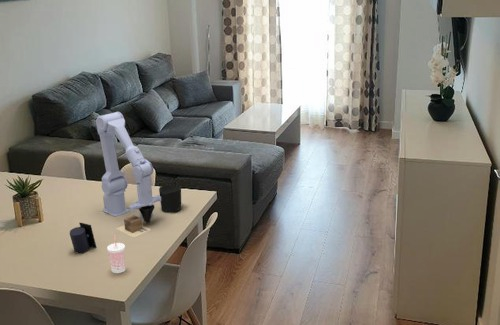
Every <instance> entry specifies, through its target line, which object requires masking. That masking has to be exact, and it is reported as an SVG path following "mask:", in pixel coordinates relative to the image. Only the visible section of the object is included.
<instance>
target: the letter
mask: <svg viewBox="0 0 500 325" xmlns="http://www.w3.org/2000/svg"><path fill="white" fill-rule="evenodd" d="M142 228H143V229H141V230H138V231H136V232H134V233H131V232H129V231H127V230H125V225H124V224H123V225H121V226H119V227H116V228H115V229H116V230H117V231H120V232H121V233H123V234H125V235H128V236H129V237H132V238H135V237H138V236H140V235H143V234H145V233H147V232H150V231H152V229H151V228H149V227H147V226H145V225H143V224H142Z"/></svg>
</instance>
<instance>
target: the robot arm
mask: <svg viewBox="0 0 500 325" xmlns="http://www.w3.org/2000/svg"><path fill="white" fill-rule="evenodd" d="M95 124H96V130H97V135H99V139H100V144H101V150H102V155H103V161H104V166H105V173H104V174H103V175H102V177H101V189H102V192H103V195H102V198H103V210H102V212H104V213H106V214H109V215H110V216H112V217H118V216H120V215H123V214H127V213H128V212H135V211H136V210H138V211H139V213H140V212H141V214H142V216H143V219H142V220H143V222H144V223H147V224H149V223H150V222H151V218H152V217H151V214H152V215H153V211H154V209H155V203H158V202H160V201H161V196H160V195H155V196H153V192H152V191H153V190H152V189H153V188H152V174H154V167H153V165H152V163H151V162H150V161H149V160H148V159H147V158H145V157H144V155H143V153H142V152H141V150H140V148H139V147H138V146H136V145H134V143H133V141H132V139H131V137H130V135H129V133H128V131H127V129H126V127H125V126H126V120H125V118H124V115H123V114H122V113H121V112H120V111H115V112H111V113H107V114H103V115H98V116H97V118H96V120H95ZM114 135H115V136H116V138H117V139H118V140H119V142H120V144H121V145H122V146H123V147H124V149H125V152H124V153H125V154H124V155H125V156H126V158H127V160H128V161H129V163H130V164H131V167H132V170H131V171H132V174H133V176H134V181H135V182H136V190H137V191H136V192H137V201H136V202H135V203H133V204H131V205H129V208H127V207H126V198H125V192H126V189H128V186H129V185H128V184H129V183H128V180H127V177H126V175H125V173H124V172H123V171H122V170H120V168H119V163H118V158H117V152H116V147H115V141H114Z"/></svg>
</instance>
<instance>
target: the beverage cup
mask: <svg viewBox="0 0 500 325" xmlns="http://www.w3.org/2000/svg"><path fill="white" fill-rule="evenodd" d="M113 236H114V237H113V238H114V243H111V244H109V245H107V247H106V250H107V253H108V257H109V262H110V267H111V268H110V269H111V272H112V273H114V274H120V273H123V272H125V271H126V258H125V257H126V255H125V254H126V253H125V251H126V250H125V249H126V245H125V244H124V243H122V242H117V237H116V236H117V235H116V233H113Z"/></svg>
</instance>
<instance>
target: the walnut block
mask: <svg viewBox="0 0 500 325" xmlns="http://www.w3.org/2000/svg"><path fill="white" fill-rule="evenodd" d="M123 223H124V224H123V226H124V225H125V230H127V231H129V232H131V233H134V232H136V231H138V230H141V229H143V228H142V225H143V219H142V218H141V217H140V216H137V215H135V214H134V215H131V216H128V217H126V218H124V219H123Z"/></svg>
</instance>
